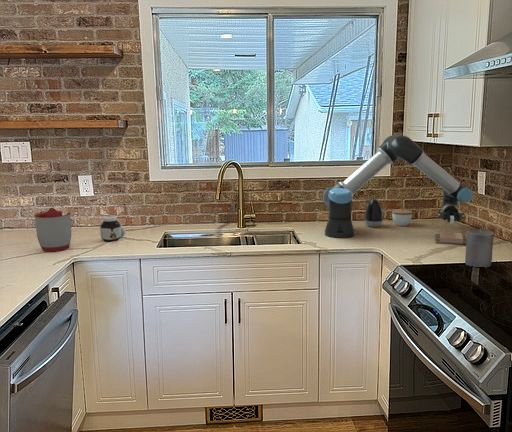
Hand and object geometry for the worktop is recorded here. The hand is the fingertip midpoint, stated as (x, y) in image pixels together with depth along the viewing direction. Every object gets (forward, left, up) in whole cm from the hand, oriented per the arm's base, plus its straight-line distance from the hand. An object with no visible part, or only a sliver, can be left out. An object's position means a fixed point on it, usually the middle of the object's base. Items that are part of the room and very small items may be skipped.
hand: (452, 220), depth 228 cm
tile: (0, 0, -8) cm, 8 cm away
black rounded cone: (-46, +1, -10) cm, 47 cm away
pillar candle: (+27, -29, -10) cm, 41 cm away
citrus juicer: (-117, -148, -10) cm, 189 cm away
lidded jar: (-37, +15, -10) cm, 42 cm away
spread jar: (-117, -120, -10) cm, 168 cm away
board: (-1, +2, -10) cm, 10 cm away
